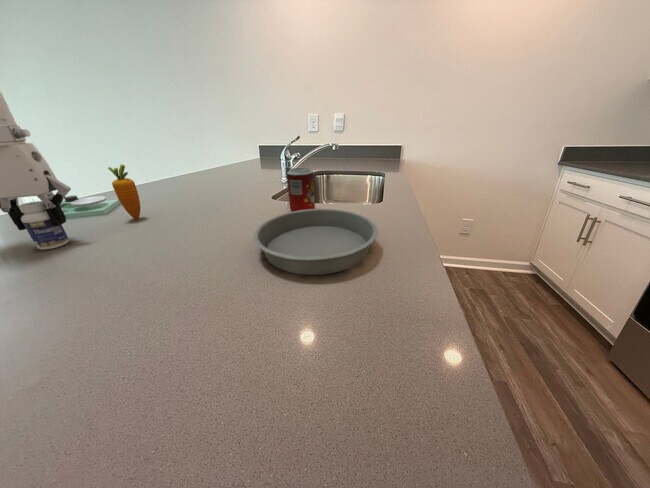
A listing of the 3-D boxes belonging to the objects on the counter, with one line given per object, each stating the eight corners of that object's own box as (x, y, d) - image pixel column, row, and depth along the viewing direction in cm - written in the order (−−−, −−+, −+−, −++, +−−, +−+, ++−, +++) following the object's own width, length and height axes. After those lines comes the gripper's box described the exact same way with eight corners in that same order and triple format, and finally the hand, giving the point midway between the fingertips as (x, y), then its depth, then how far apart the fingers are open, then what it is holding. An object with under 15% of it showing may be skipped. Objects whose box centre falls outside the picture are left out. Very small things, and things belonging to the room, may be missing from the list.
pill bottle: (42, 252, 55) (16, 209, 51) (34, 247, 58) (10, 205, 54) (73, 242, 59) (53, 202, 55) (65, 238, 62) (45, 198, 58)
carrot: (122, 221, 71) (99, 165, 64) (139, 215, 75) (120, 162, 68) (134, 223, 69) (112, 166, 63) (151, 217, 73) (132, 163, 67)
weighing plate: (65, 207, 74) (64, 205, 74) (80, 199, 81) (79, 198, 81) (99, 204, 76) (98, 202, 76) (111, 196, 84) (110, 195, 83)
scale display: (47, 210, 72) (46, 209, 72) (57, 205, 76) (57, 204, 76) (57, 209, 73) (57, 208, 73) (67, 204, 77) (67, 203, 77)
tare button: (64, 203, 80) (61, 198, 79) (69, 200, 82) (67, 195, 81) (75, 202, 80) (73, 197, 80) (80, 199, 83) (78, 195, 82)
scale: (46, 220, 74) (40, 210, 72) (70, 207, 84) (66, 198, 83) (105, 214, 77) (101, 204, 76) (121, 202, 88) (117, 194, 87)
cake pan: (264, 228, 64) (261, 211, 62) (361, 222, 66) (362, 205, 64) (246, 286, 42) (241, 262, 40) (393, 275, 44) (395, 252, 42)
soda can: (313, 217, 70) (310, 171, 64) (287, 217, 71) (283, 172, 65) (316, 209, 76) (314, 166, 71) (293, 209, 77) (289, 167, 71)
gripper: (61, 133, 54) (97, 215, 62) (-47, 138, 50) (7, 225, 58) (37, 135, 47) (81, 226, 55) (-89, 140, 43) (-22, 238, 51)
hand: (43, 225), depth 56 cm, fingers closed on pill bottle, 5 cm apart
